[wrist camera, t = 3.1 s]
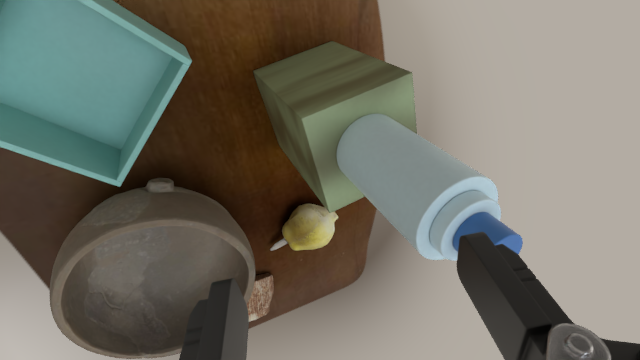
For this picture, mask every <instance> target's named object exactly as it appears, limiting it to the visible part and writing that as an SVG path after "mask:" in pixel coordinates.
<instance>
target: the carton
mask: <svg viewBox="0 0 640 360" xmlns="http://www.w3.org/2000/svg"><path fill="white" fill-rule="evenodd" d="M191 63H192V60H191V58H190V56H189V54H188V52H187V50H186V47H185V46H184V45H183V44H181V43H179V42H178V41H176V40H175V39H173V38H171V37H170V36H168V35H167V34H165V33H163V32H162V31H160V30H159V29H157V28H156V27H154V26H152V25H151V24H149V23H148V22H146V21H144V20H143V19H141V18H140V17H138V16H136V15H135V14H133V13H132V12H130V11H128V10H127V9H125V8H124V7H122V6H120V5H119V4H117V3H116V2H114V1H112V0H0V147H2V148H5V149H8V150H11V151H14V152H17V153H20V154H23V155H26V156H29V157H32V158H35V159H38V160H41V161H44V162H47V163H50V164H53V165H56V166H59V167H62V168H64V169H67V170H70V171H73V172H76V173H79V174H82V175H85V176H88V177H91V178H94V179H97V180H100V181H103V182H106V183H109V184H112V185H115V186H118V187H120V186H121V185H122V183H123V181H124V179H125V178H126V176H127V174H128V172H129V171H130V169H131V167H132V165H133V164H134V162H135V160H136V158H137V157H138V155H139V153H140V151H141V150H142V148H143V146H144V145H145V143H146V141H147V139H148V138H149V136H150V134H151V132H152V131H153V129H154V127H155V125H156V124H157V122H158V120H159V118H160V117H161V115H162V113H163V111H164V110H165V108H166V106H167V104H168V103H169V101H170V99H171V97H172V96H173V94H174V92H175V90H176V89H177V87H178V85H179V84H180V82H181V80H182V78H183V77H184V75H185V73H186V71H187V70H188V68H189V66H190V64H191Z"/></svg>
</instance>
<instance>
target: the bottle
mask: <svg viewBox="0 0 640 360" xmlns="http://www.w3.org/2000/svg"><path fill="white" fill-rule="evenodd" d="M336 157H337V163H338V166H339V168H340V170H341V171H342V172H343V173H344V175H345V176H346V177H347V178H348V179H349V180H350V181H351V182H352V183H353V184H354V185H355V186H356V187H357V188H358V189H359V190H360V191H361V192H362V193H363V194H364V195H365V197H366V198H367V199H368V200H369V201H370V202H371V203H372V204H373V205H374V206H375V207H376V208H377V209H378V210H379V211H380V212H381V213H382V214H383V215H384V216H385V217H386V218H387V219H388V221H389V222H390V223H391V224H392V225H393V226H394V227H395V228H396V229H397V230H398V231H399V232H400V233H401V234H402V235H403V236H404V237H405V238H406V239H407V240H408V241H409V243H410V244H411V245H412V246H413V247H414V248H415V249H416V250H417V251H418V252H419V253H420V254H421V255H422V256H423V257H425V258H428V259H431V260H441V259H448V260H457V257H458V248H459V239H460V236H462V235H467V234H473V233H478V232H484V233H486V234H487V236H488V237H489V238H490V240H491V241H492V242H493V244H494V245H499V244H504V245H505V246H507V247H508V248H510V249H511V250H513V251H514V252H516V253H517V254H519V252H520V250H521V247H522V238H521V236H520V235H518V234H517V233H515V232H514V231H513V230H511V229H510V228H508V227H507V226H506V225H504V224H503V223H502V222H500V217H501V209H500V206H499V204H498V191H497V188H496V186H495V184H494V183H493V181H492V180H490V179H489V178H487V177H486V176H484V175H482V174H481V173H479V172H478V171H476V170H474V169H473V168H471V167H470V166H468V165H466V164H465V163H463V162H461V161H460V160H458V159H457V158H455V157H453V156H452V155H450V154H448V153H447V152H445V151H443V150H442V149H440V148H439V147H437V146H435V145H434V144H432V143H431V142H429V141H427V140H426V139H424V138H422V137H421V136H419V135H417V134H416V133H414V132H413V131H411V130H409V129H408V128H406V127H405V126H403V125H401V124H400V123H398V122H396V121H395V120H393V119H392V118H390V117H388V116H386V115H383V114H369V115H366V116H363V117H361V118H359V119H357V120H356V121H355V122H353V123H352V124H351V125H350V126H349V127H348V128H347V129H346V130H345V132H344V133H343V135H342V137H341V139H340V141H339V143H338V147H337V156H336Z"/></svg>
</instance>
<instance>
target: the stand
mask: <svg viewBox="0 0 640 360" xmlns="http://www.w3.org/2000/svg"><path fill="white" fill-rule="evenodd" d="M253 73H254V76H255V79H256V82H257V85H258V87H259V90H260V93H261V96H262V99H263V101H264V104H265V107H266V110H267V113H268V115H269V118H270V121H271V124H272V127H273V129H274V132H275V135H276V138H277V140H278V143H279V146H280V147H281V149H282V150H283V151H284V153H285V154H286V155H287V157H288V158H289V159H290V161H291V162H292V163H293V165H294V166H295V167H296V169H297V170H298V171H299V173H300V174H301V175H302V177H303V178H304V180H305V181H306V182H307V184H308V185H309V186H310V188H311V189H312V190H313V192H314V193H315V194H316V196H317V197H318V198H319V200H320V201H321V202H322V204H323V205H324V206H325V208H326V209H327V210H328V212H329V213H331V212H334V211H336V210H338V209H340V208H342V207H344V206H346V205H348V204H350V203H352V202H354V201H356V200H358V199H360V198H362V197H364V196H365V195H364V194H363V193H362V192H361V191H360V190H359V189H358V188H357V187H356V186H355V185H354V184H353V183H352V182H351V181H350V180H349V179H348V178H347V177H346V176H345V175H344V173H343V172H342V171H341V170H340V168H339V166H338V163H337V157H336V156H337V147H338V143H339V141H340V139H341V137H342V135H343V133H344V132H345V130H346V129H347V128H348V127H349V126H350V125H351V124H352V123H353V122H355V121H356V120H357V119H359V118H361V117H363V116H366V115H369V114H383V115H386V116H388V117H390V118H392V119H393V120H395V121H396V122H398V123H400V124H401V125H403V126H405V127H406V128H408V129H409V130H411V131H413V132H414V133H416V134H417V129H416V116H415V103H414V89H413V78H412V72H409V71H407V70H404V69H402V68H399V67H397V66H394V65H392V64H389V63H386V62H384V61H381V60H379V59H376V58H374V57H371V56H369V55H366V54H364V53H361V52H359V51H356V50H353V49H351V48H348V47H346V46H343V45H341V44H338V43H336V42H333V41H331V42H328V43H326V44H323V45H320V46H318V47H315V48H312V49H310V50H307V51H304V52H302V53H299V54H296V55H294V56H291V57H288V58H286V59H283V60H280V61H278V62H275V63H272V64H270V65H267V66H265V67H262V68H259V69H257V70H254V71H253Z"/></svg>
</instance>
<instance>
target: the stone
mask: <svg viewBox="0 0 640 360" xmlns="http://www.w3.org/2000/svg"><path fill="white" fill-rule="evenodd" d="M273 286H274V285H273V277H272V275H271V274H261V275H258V276H255V282H254V287H253V291H252V294H251V297H250V299H249V301H248V303H247V308H248V315H249V322H250V321H252V320H256V319H258V318H260V317H261V316H264V315H266V314H267V313H268V312H269V304H270V301H271V299H272V295H273Z"/></svg>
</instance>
